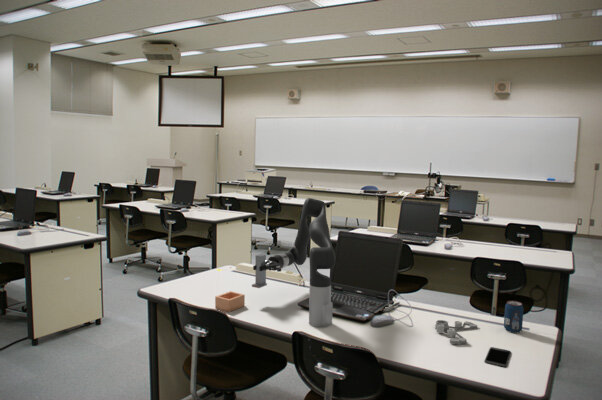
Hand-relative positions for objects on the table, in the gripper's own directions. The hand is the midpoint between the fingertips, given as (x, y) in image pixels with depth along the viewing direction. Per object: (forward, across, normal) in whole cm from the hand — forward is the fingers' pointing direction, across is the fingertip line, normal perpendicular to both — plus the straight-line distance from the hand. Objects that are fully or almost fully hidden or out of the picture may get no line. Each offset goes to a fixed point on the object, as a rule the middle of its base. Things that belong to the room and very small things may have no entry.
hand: (256, 268), depth 207 cm
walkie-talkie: (-32, +51, +19) cm, 63 cm away
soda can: (-40, +107, +19) cm, 116 cm away
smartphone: (-9, +106, +19) cm, 108 cm away
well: (+10, -8, +18) cm, 22 cm away
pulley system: (-24, +86, +19) cm, 92 cm away
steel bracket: (-3, 0, +9) cm, 9 cm away
